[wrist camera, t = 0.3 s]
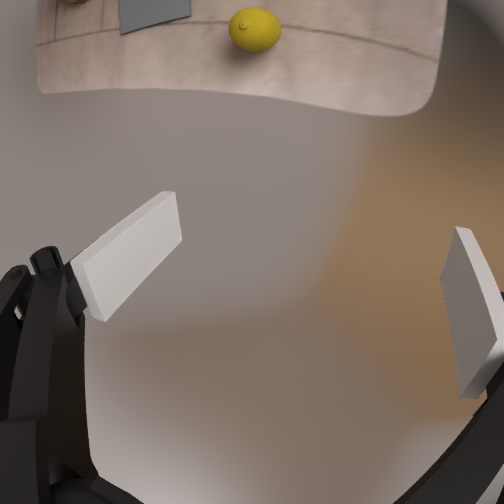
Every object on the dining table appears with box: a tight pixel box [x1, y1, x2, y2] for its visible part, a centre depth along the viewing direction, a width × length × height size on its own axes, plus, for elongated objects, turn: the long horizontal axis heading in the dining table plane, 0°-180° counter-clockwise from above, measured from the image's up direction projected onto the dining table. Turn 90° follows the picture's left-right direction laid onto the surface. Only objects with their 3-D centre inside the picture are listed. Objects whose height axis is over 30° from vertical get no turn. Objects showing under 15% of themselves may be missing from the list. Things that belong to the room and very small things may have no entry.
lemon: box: [229, 7, 281, 52], centre depth 29 cm, size 6×6×8 cm
